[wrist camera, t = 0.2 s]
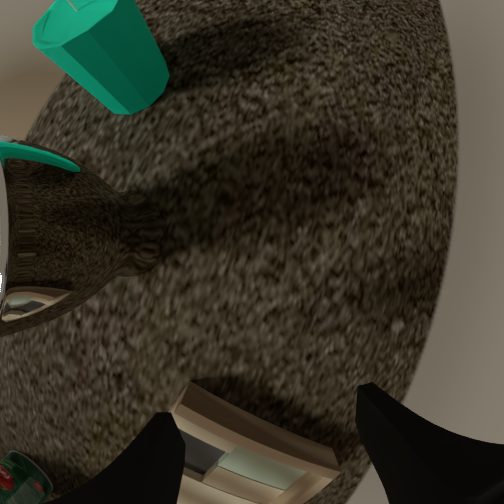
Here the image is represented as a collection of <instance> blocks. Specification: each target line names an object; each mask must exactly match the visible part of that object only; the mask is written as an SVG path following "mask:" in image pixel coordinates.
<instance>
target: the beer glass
mask: <svg viewBox="0 0 504 504" xmlns="http://www.w3.org/2000/svg"><path fill="white" fill-rule="evenodd" d="M165 242H166V225H165V221H164V217H163V215H162V213H161V211H160V209H159V208H158V206H157V205H156V204H155V203H154V202H153V201H152V200H151V199H150V198H148V197H147V196H145V195H143V194H141V193H137V192H119V193H118V192H117V191H115V190H114V189H113V188H112V187H111V186H110V185H109V184H107V183H106V182H105V181H104V180H103V179H101V178H100V177H99V176H98V175H97V174H95V173H94V172H92V171H91V170H90V169H88V168H87V167H85V166H84V165H82V164H81V163H79V162H78V161H76V160H74V159H72V158H70V157H68V156H65V155H63V154H61V153H59V152H57V151H55V150H52V149H49V148H46V147H43V146H40V145H37V144H34V143H31V142H27V141H23V140H19V139H15V138H11V137H6V136H2V135H0V337H3V336H7V335H11V334H14V333H17V332H20V331H24V330H27V329H30V328H33V327H36V326H38V325H41V324H43V323H46V322H49V321H51V320H54V319H56V318H58V317H60V316H62V315H64V314H66V313H68V312H70V311H71V310H73V309H75V308H77V307H78V306H80V305H81V304H83V303H84V302H86V301H87V300H88V299H90V298H91V297H93V296H94V295H95V294H96V293H98V292H99V291H100V290H101V289H102V288H103V287H105V286H106V285H107V284H108V283H109V282H110V281H112V280H113V279H114V278H115V277H116V276H122V277H132V276H137V275H140V274H143V273H144V272H146V271H148V270H149V269H150V268H151V267H153V266H154V265H155V263H156V262H157V261H158V260H159V258H160V256H161V254H162V252H163V250H164V247H165Z"/></svg>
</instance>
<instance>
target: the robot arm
mask: <svg viewBox="0 0 504 504" xmlns="http://www.w3.org/2000/svg"><path fill="white" fill-rule="evenodd" d="M355 422H356V425H357V428H358V432H359V435H360V438H361V440H362V443H363V445H364V447H365V449H366V451H367V453H368V455H369V457H370V459H371V461H372V463H373V465H374V467H375V469H376V471H377V473H378V475H379V477H380V480H381V482H382V484H383V486H384V489H385V492H386V495H387V497H388V501H389V504H504V444H495V443H489V442H484V441H479V440H475V439H472V438H468V437H465V436H462V435H459V434H456V433H453V432H451V431H448V430H446V429H444V428H442V427H439V426H437V425H435V424H433V423H431V422H429V421H427V420H426V419H424V418H422V417H421V416H419V415H417V414H416V413H414V412H413V411H411V410H410V409H408V408H407V407H405V406H404V405H402V404H401V403H399V402H398V401H397V400H395V399H394V398H393V397H391V396H390V395H389V394H387V393H386V392H385V391H383V390H382V389H381V388H379V387H378V386H377V385H376V384H374V383H373V382H371V383H368V384H364V385H360V386H358V390H357V404H356V417H355ZM185 449H186V444H185V442H184V440H183V438H182V436H181V433H180V431H179V429H178V427H177V425H176V422H175V420H174V418H173V416H172V413H171V412H157V413H156V414H155V415H154V416H153V418H152V419H151V420H150V421H149V422H148V423H147V425H146V426H145V427H144V428H143V429H142V431H141V432H140V433H139V434H138V435H137V437H136V438H135V439H134V440H133V441H132V442H131V443H130V444H129V446H128V447H127V448H126V449H125V450H124V451H123V452H122V453H121V454H120V455H119V456H118V457H117V458H116V459H115V460H114V461H113V462H112V463H111V464H110V465H109V466H107V467H106V468H105V469H104V470H103V471H101V472H100V473H99V474H98V475H96V476H95V477H94V478H92V479H91V480H89V481H88V482H86V483H84V484H83V485H81V486H80V487H78V488H77V489H75V490H73V491H71V492H69V493H67V494H65V495H63V496H61V497H59V498H57V499H54V500H52V501H49V502H46V503H43V504H177V500H178V495H179V490H180V486H181V481H182V476H183V471H184V465H185Z"/></svg>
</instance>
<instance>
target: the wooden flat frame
mask: <svg viewBox="0 0 504 504" xmlns="http://www.w3.org/2000/svg"><path fill="white" fill-rule="evenodd" d="M169 412H171V413H172V416H173V418H174V420H175V422H176V425H177V427H178V429H179V431H180V433H181V436H182V438H183V440H184V442H185V444H186V449H185V465H184V471H183V476H182V481H181V486H180V490H179V495H178V500H177V504H304V503H305V502H306V501H308V500H309V499H310V498H311V497H313V496H314V495H315V494H316V493H318V492H319V491H320V490H321V489H323V488H324V487H325V486H326V485H327V484H329V483H330V482H331V481H332V480H333V479H334V478H335V477H337V476H338V475H339V474H340V473H341V470H340V468H339V465H338V462H337V459H336V457H335V454H334V451H333V449H332V448H330V447H328V446H325V445H322V444H319V443H317V442H314V441H312V440H309V439H307V438H304V437H302V436H299V435H297V434H294V433H292V432H289V431H287V430H285V429H283V428H280V427H278V426H276V425H274V424H271V423H269V422H267V421H265V420H263V419H261V418H258V417H256V416H254V415H252V414H250V413H248V412H246V411H244V410H242V409H240V408H238V407H236V406H234V405H232V404H230V403H228V402H227V401H225V400H223V399H221V398H219V397H217V396H215V395H214V394H212V393H210V392H208V391H206V390H205V389H203V388H201V387H199V386H198V385H196V384H194V383H193V382H191V381H189V383H188V384H187V386H186V387H185V389H184V390H183V391H182V393H181V394H180V396H179V397H178V399H177V400H176V402H175V403H174V405H173V406H172V407H171V409H170V410H169Z"/></svg>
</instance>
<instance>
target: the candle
mask: <svg viewBox="0 0 504 504" xmlns="http://www.w3.org/2000/svg"><path fill="white" fill-rule="evenodd" d="M33 45H34V46H36V47H37V48H38V49H39V50H40V51H42V52H43V53H44V54H45V55H46V56H47V57H49V58H50V59H51V60H52V61H53V62H55V63H56V64H57V65H58V66H59V67H61V68H62V69H63V70H64V71H65V72H66V73H68V74H69V75H70V76H71V77H72V78H73V79H75V80H76V81H77V82H78V83H79V84H80V85H82V86H83V87H84V88H85V89H86V90H87V91H89V92H90V93H91V94H92V95H93V96H94V97H96V98H97V99H98V100H99V101H100V102H101V103H103V104H104V105H105V106H106V107H107V108H108V109H110V110H111V111H112V112H113V113H114V114H133V113H136V112H138V111H140V110H142V109H145V108H147V107H149V106H150V105H151V104H152V103H153V102H154V101H155V100H156V99H157V98H158V97H159V96H160V95H161V94H162V93H163V92H164V90H165V87H166V84H167V81H168V79H169V76H170V75H169V72H168V68H167V65H166V62H165V60H164V58H163V56H162V54H161V52H160V50H159V48H158V46H157V44H156V42H155V40H154V38H153V36H152V34H151V32H150V30H149V28H148V26H147V24H146V22H145V20H144V18H143V16H142V14H141V12H140V10H139V8H138V6H137V4H136V2H135V0H55V1H54V3H53V4H52V5H51V6H50V8H49V9H48V10H47V11H46V12H45V13H44V15H43V16H42V17H41V18H40V19H39V20H38V21H37V22H36V24H35V25H34V26H33Z"/></svg>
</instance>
